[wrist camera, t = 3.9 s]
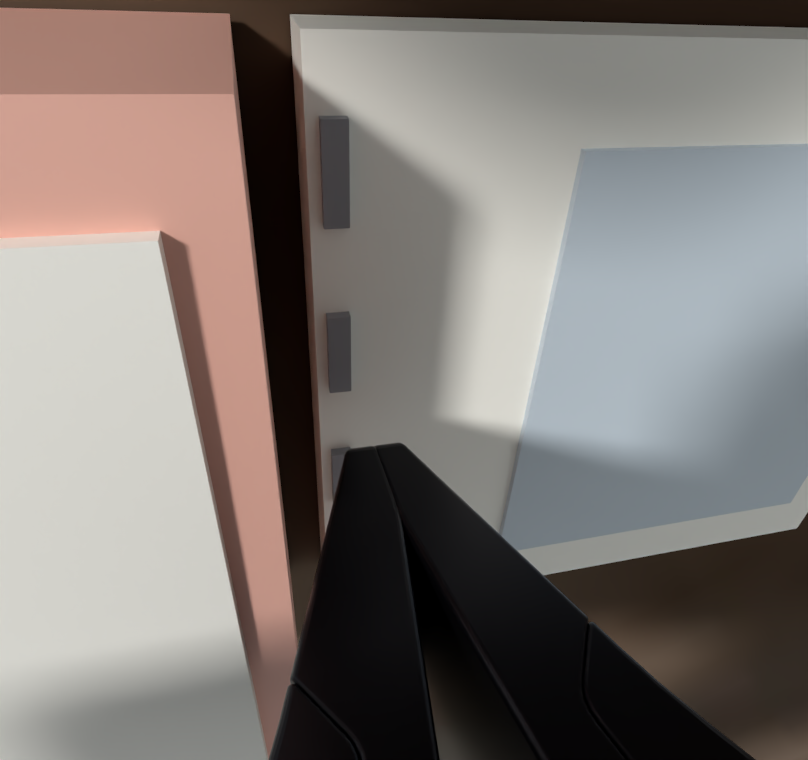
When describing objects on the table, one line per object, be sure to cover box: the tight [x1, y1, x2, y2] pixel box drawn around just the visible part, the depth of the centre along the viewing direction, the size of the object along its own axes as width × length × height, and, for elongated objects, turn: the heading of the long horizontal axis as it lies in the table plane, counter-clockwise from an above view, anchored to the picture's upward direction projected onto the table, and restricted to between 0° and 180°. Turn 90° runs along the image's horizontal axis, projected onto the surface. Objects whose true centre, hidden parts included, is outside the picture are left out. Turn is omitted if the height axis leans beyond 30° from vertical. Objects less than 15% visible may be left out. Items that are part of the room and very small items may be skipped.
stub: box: [0, 8, 298, 760], centre depth 7 cm, size 4×10×4 cm, turn 177°
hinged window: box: [290, 14, 808, 575], centre depth 10 cm, size 11×10×1 cm
